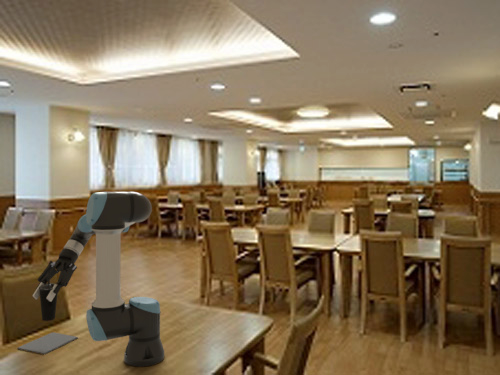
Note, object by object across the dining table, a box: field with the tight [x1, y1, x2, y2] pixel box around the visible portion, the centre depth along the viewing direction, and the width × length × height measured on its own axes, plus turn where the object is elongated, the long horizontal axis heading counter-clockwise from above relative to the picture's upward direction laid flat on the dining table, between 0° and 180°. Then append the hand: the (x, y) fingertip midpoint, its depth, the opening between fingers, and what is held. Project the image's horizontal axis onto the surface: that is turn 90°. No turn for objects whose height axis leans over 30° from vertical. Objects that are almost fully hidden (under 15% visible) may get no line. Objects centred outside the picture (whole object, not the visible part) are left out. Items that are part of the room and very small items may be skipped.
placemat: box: [17, 331, 79, 355], centre depth 180 cm, size 14×18×1 cm
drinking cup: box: [39, 271, 58, 322], centre depth 179 cm, size 8×8×20 cm
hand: (41, 298), depth 176 cm, fingers closed on drinking cup, 7 cm apart
